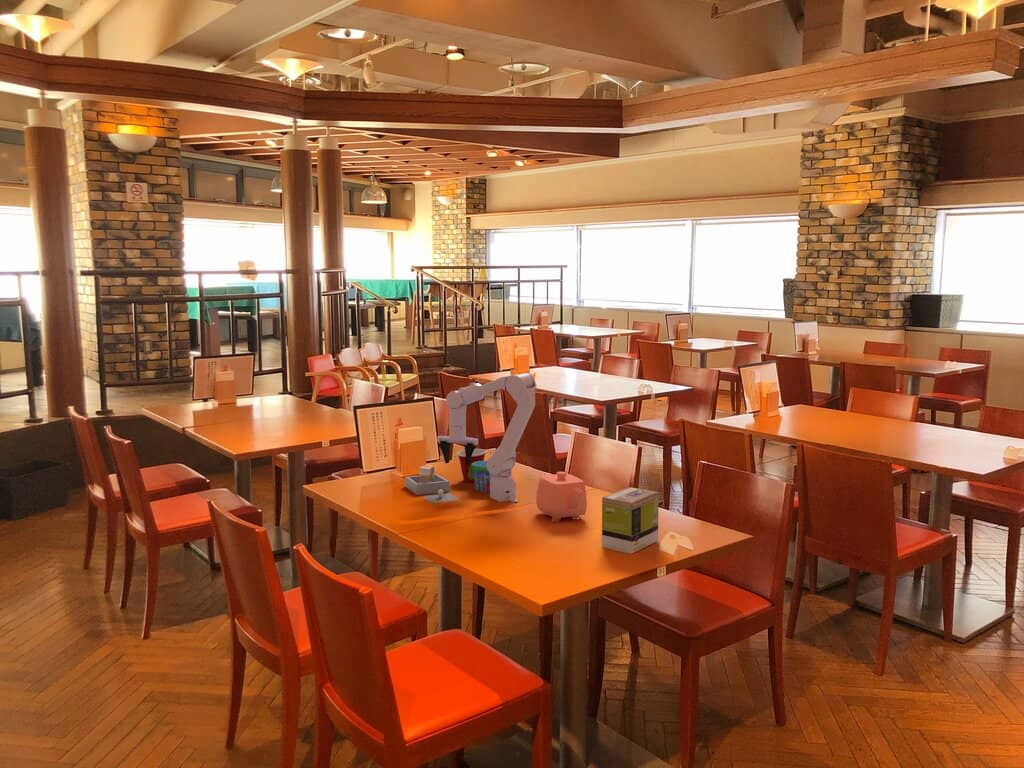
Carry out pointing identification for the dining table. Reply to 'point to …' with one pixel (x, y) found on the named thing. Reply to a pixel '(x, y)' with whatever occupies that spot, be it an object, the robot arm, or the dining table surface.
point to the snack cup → (480, 476)
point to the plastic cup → (476, 456)
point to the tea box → (629, 520)
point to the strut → (426, 474)
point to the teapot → (561, 496)
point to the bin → (426, 485)
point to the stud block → (440, 497)
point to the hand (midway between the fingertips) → (457, 463)
